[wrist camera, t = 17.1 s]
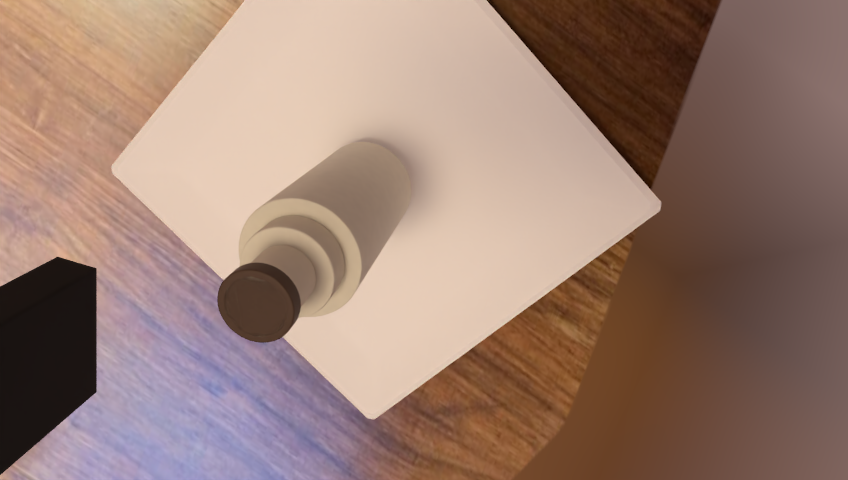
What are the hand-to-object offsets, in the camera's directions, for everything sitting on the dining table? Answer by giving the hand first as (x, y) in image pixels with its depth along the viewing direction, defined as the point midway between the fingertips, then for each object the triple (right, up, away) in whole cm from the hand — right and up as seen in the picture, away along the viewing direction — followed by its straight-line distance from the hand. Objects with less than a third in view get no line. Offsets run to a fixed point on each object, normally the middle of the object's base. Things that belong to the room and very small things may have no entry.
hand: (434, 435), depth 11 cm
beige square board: (-4, +8, +31) cm, 32 cm away
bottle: (-4, +7, +29) cm, 30 cm away
